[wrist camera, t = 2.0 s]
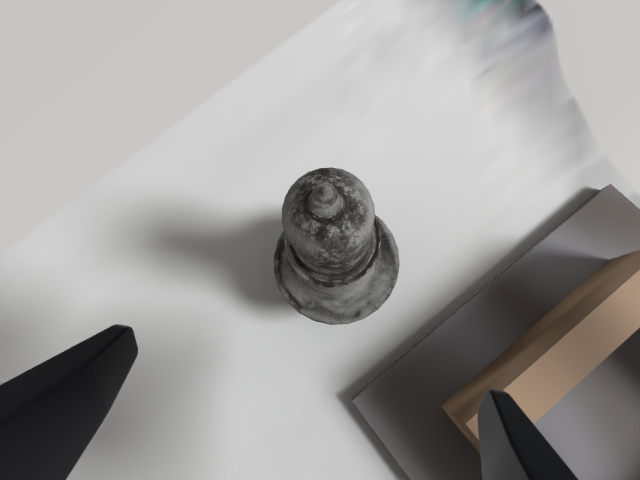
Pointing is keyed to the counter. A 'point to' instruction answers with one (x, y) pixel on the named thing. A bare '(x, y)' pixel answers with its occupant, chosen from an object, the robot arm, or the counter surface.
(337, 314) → the grey stone pawn figure
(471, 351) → the end holder
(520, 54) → the counter surface
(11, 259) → the counter surface
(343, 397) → the counter surface
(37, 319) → the counter surface
